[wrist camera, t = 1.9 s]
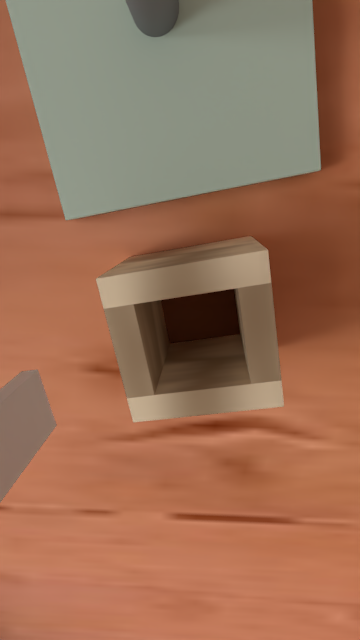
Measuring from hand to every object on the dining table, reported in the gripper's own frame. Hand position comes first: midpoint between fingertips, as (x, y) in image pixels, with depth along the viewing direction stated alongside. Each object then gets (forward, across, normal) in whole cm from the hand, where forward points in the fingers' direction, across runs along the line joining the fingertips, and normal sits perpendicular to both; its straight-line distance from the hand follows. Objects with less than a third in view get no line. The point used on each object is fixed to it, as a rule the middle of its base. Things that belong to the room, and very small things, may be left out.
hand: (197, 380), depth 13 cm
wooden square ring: (+10, 0, 0) cm, 11 cm away
